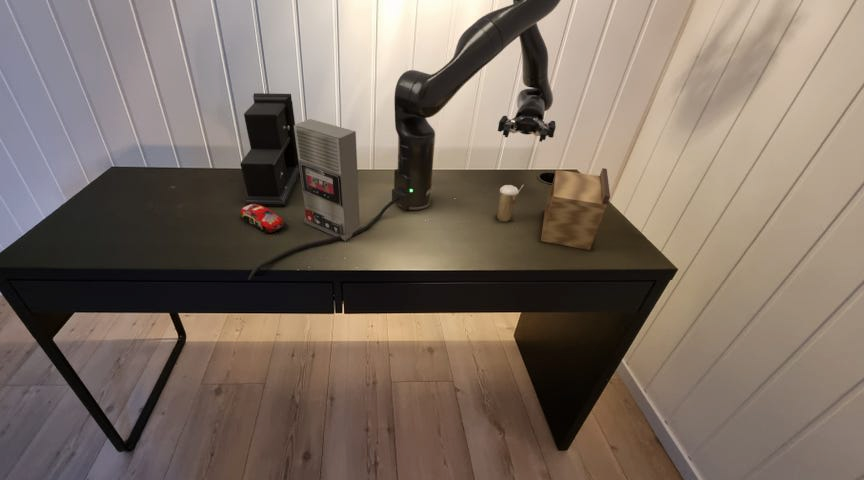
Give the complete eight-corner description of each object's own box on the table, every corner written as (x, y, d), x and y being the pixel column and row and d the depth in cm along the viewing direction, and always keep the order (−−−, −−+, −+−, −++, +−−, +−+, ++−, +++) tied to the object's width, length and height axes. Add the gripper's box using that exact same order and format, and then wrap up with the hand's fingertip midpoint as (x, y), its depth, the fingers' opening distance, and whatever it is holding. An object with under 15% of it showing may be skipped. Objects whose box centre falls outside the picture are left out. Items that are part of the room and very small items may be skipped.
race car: (288, 228, 103) (285, 214, 100) (270, 237, 100) (267, 223, 97) (257, 210, 110) (254, 197, 107) (239, 218, 106) (236, 205, 104)
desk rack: (540, 241, 98) (555, 188, 90) (544, 211, 109) (558, 162, 101) (589, 250, 95) (610, 196, 86) (588, 219, 106) (606, 168, 97)
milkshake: (516, 224, 104) (524, 188, 98) (494, 222, 105) (501, 186, 99) (515, 215, 108) (523, 180, 101) (494, 213, 108) (501, 178, 102)
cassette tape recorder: (304, 223, 104) (290, 125, 89) (320, 214, 108) (310, 118, 93) (344, 242, 98) (336, 139, 82) (360, 231, 102) (356, 131, 86)
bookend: (285, 207, 111) (270, 119, 97) (245, 206, 112) (225, 119, 97) (302, 170, 130) (291, 93, 115) (268, 170, 130) (254, 92, 115)
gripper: (506, 100, 115) (497, 117, 103) (559, 105, 111) (557, 124, 99) (501, 126, 120) (493, 146, 108) (552, 132, 116) (549, 153, 104)
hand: (523, 135), depth 103 cm, fingers open, 8 cm apart
